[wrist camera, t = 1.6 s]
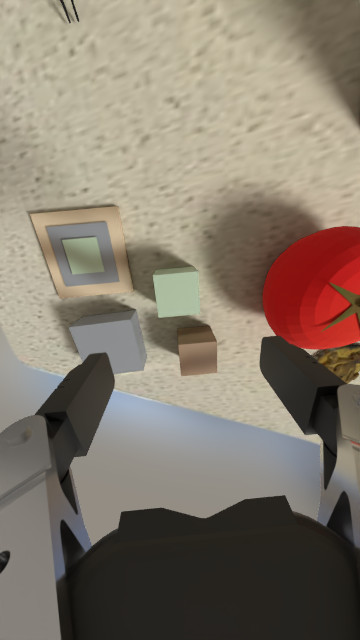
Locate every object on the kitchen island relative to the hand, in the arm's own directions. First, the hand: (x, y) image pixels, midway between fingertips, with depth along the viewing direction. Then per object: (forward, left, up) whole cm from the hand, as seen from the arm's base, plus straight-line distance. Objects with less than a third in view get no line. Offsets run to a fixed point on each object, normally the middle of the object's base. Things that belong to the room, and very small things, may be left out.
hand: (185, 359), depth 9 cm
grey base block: (+7, -10, -17) cm, 21 cm away
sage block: (0, 0, -17) cm, 17 cm away
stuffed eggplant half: (+18, +25, -18) cm, 35 cm away
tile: (-5, -11, -17) cm, 21 cm away
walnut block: (+9, +2, -17) cm, 19 cm away
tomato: (+1, +17, -17) cm, 24 cm away
